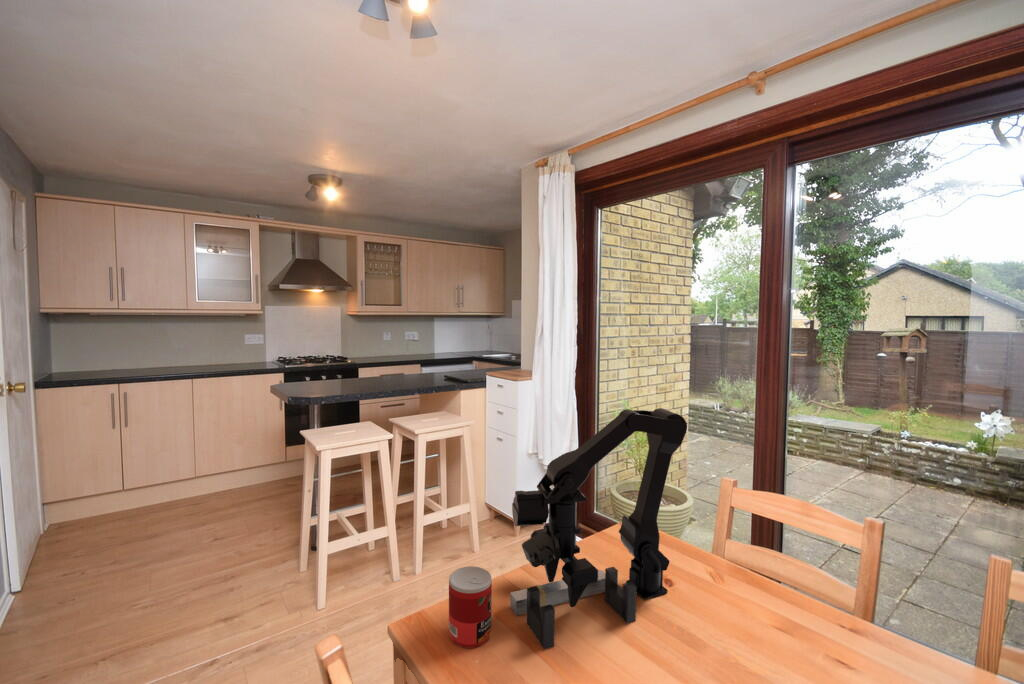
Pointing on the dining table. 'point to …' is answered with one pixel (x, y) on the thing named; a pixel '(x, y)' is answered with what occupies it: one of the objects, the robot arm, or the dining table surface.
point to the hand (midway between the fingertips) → (561, 593)
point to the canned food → (470, 606)
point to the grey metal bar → (554, 594)
